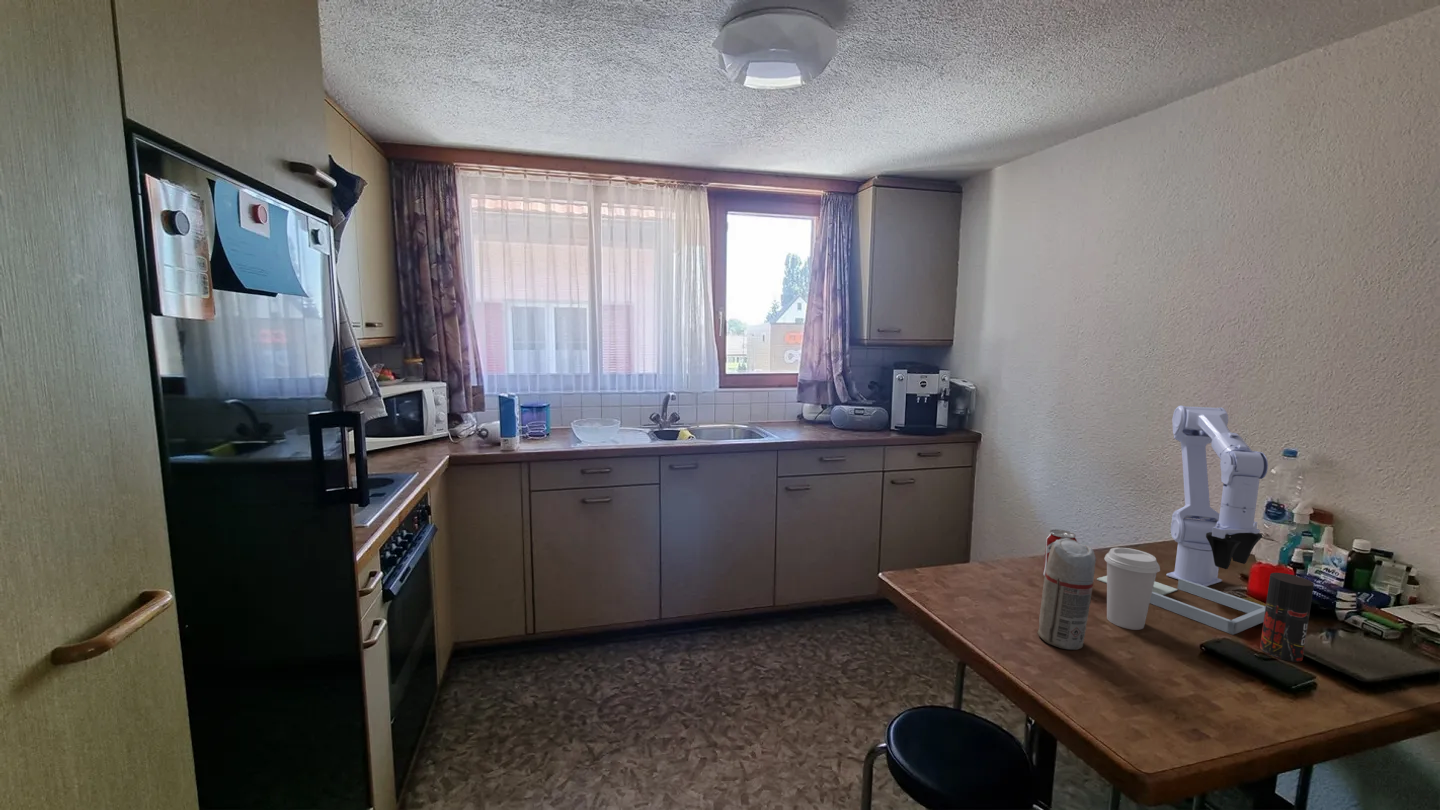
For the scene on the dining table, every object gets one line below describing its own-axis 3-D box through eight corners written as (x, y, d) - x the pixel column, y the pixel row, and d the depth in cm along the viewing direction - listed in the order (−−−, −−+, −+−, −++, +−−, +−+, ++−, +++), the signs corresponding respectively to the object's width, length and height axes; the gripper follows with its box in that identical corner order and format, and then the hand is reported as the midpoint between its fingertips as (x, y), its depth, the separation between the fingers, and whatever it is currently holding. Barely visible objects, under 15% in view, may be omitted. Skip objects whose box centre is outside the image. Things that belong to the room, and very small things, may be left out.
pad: (1124, 571, 150) (1124, 570, 150) (1177, 590, 139) (1177, 589, 139) (1096, 579, 144) (1096, 578, 144) (1149, 599, 134) (1149, 598, 134)
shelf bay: (1179, 588, 140) (1180, 578, 140) (1269, 619, 125) (1271, 608, 125) (1142, 600, 133) (1143, 589, 133) (1232, 634, 118) (1234, 623, 118)
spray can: (1080, 634, 117) (1089, 539, 115) (1091, 655, 109) (1102, 553, 107) (1033, 626, 120) (1042, 533, 118) (1041, 646, 112) (1050, 547, 110)
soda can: (1065, 574, 147) (1070, 529, 146) (1079, 586, 140) (1084, 538, 139) (1038, 573, 148) (1042, 527, 146) (1050, 584, 141) (1054, 537, 140)
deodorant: (1260, 641, 116) (1271, 570, 114) (1302, 653, 112) (1314, 579, 110) (1259, 652, 112) (1269, 578, 110) (1302, 665, 107) (1314, 588, 106)
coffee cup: (1146, 617, 125) (1154, 550, 123) (1158, 637, 116) (1167, 566, 115) (1095, 607, 129) (1101, 543, 127) (1102, 627, 120) (1109, 557, 119)
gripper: (1243, 514, 120) (1235, 576, 122) (1277, 506, 126) (1269, 566, 128) (1203, 505, 126) (1196, 564, 128) (1237, 498, 133) (1230, 555, 134)
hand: (1230, 564), depth 128 cm, fingers open, 7 cm apart
